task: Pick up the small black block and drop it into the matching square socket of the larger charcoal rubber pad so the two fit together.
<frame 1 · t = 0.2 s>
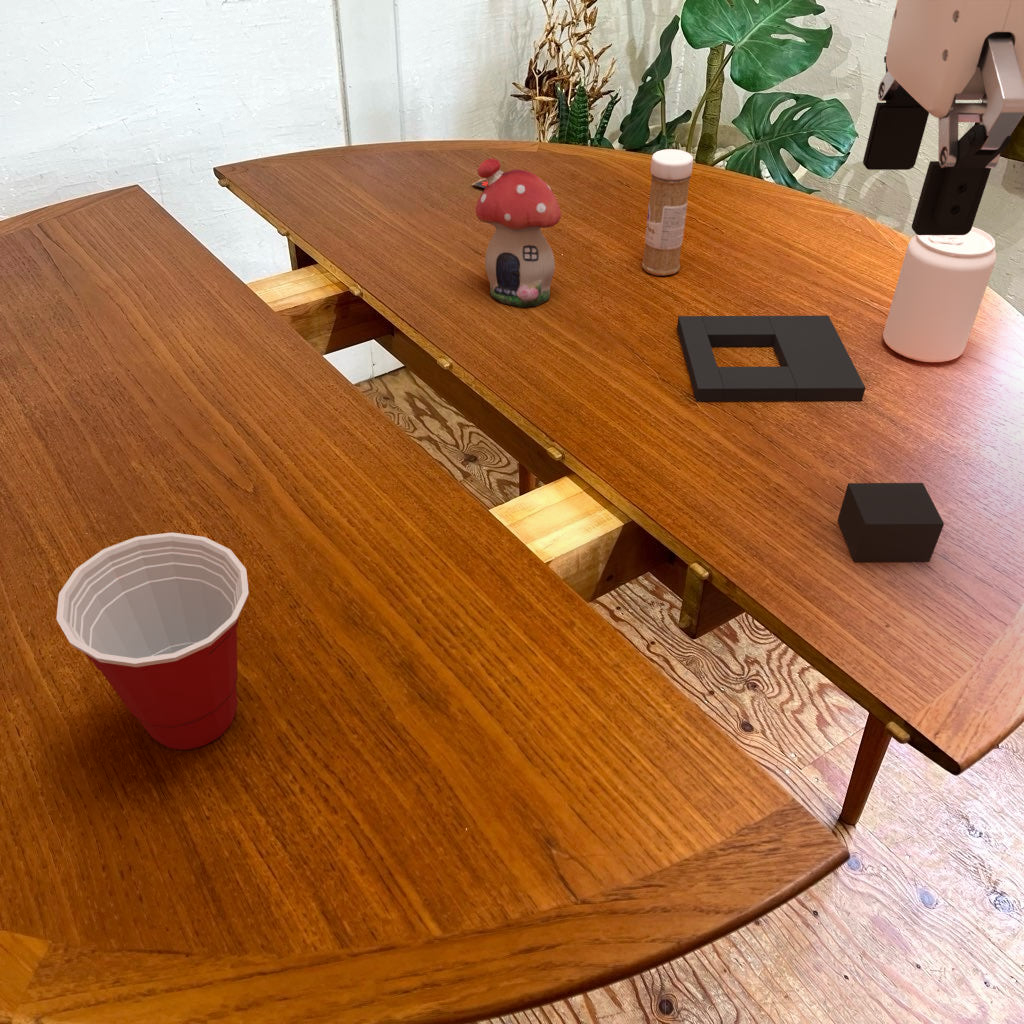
hand: (911, 198, 58), 29 cm above the table, tool pointing down, fingers open, 9 cm apart
base pad: (764, 362, 98), on the table
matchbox: (494, 187, 133), on the table
beverage can: (921, 348, 100), on the table
small black block: (882, 540, 77), on the table
sprinkles bottle: (660, 270, 114), on the table
plastic cup: (197, 716, 64), on the table
decorative ornament: (518, 295, 109), on the table
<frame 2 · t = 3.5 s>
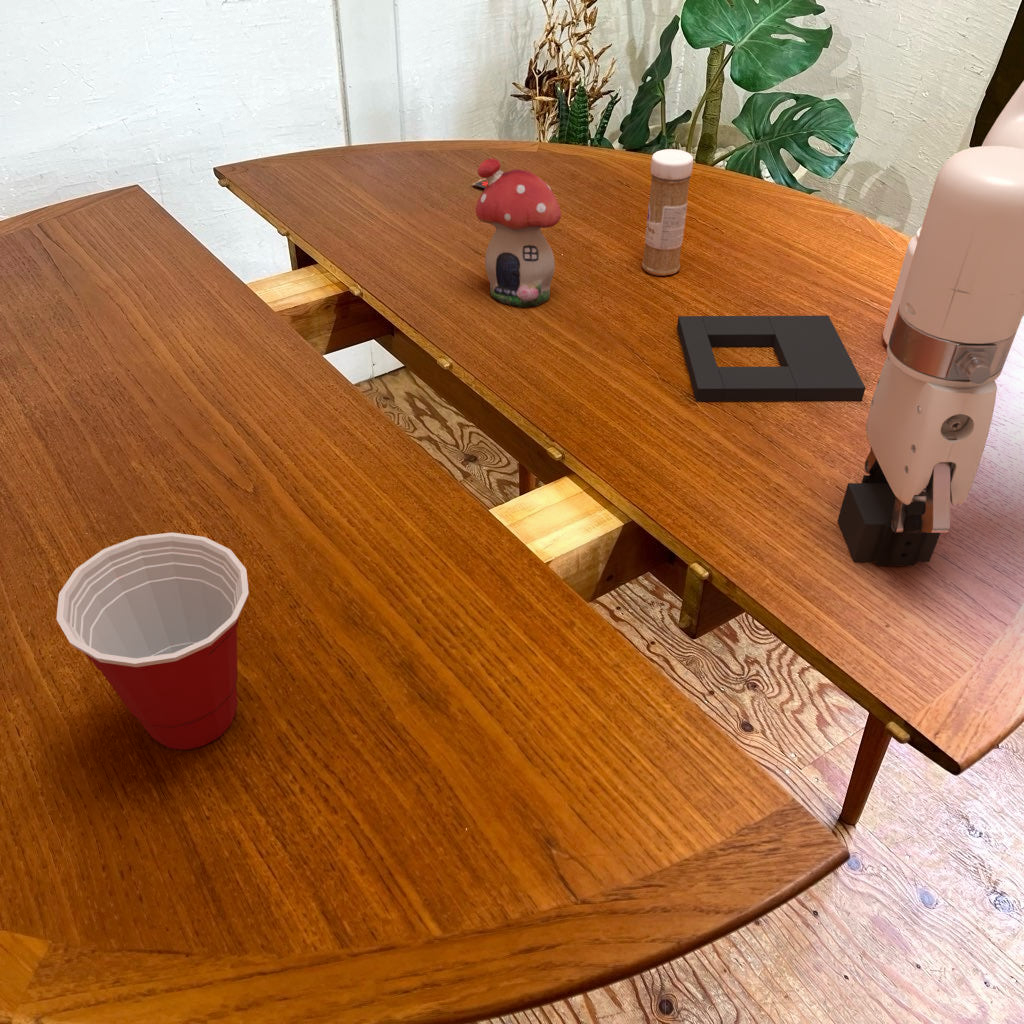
hand: (883, 536, 77), 0 cm above the table, tool pointing down, fingers closed on small black block, 5 cm apart
small black block: (882, 540, 77), on the table, touching gripper
everything else where it was.
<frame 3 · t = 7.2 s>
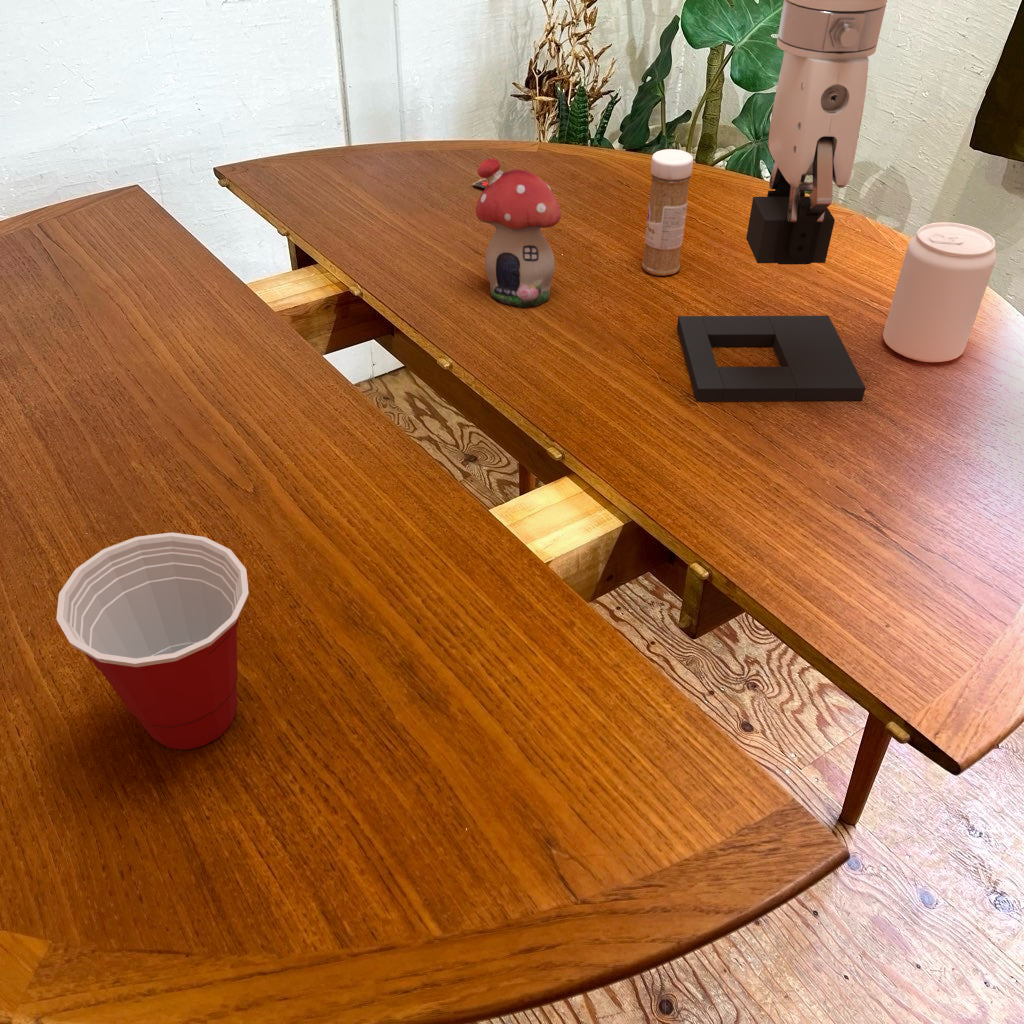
hand: (786, 246, 86), 14 cm above the table, tool pointing down, fingers closed on small black block, 5 cm apart
small black block: (784, 250, 86), point 14 cm above the table, touching gripper
everything else where it was.
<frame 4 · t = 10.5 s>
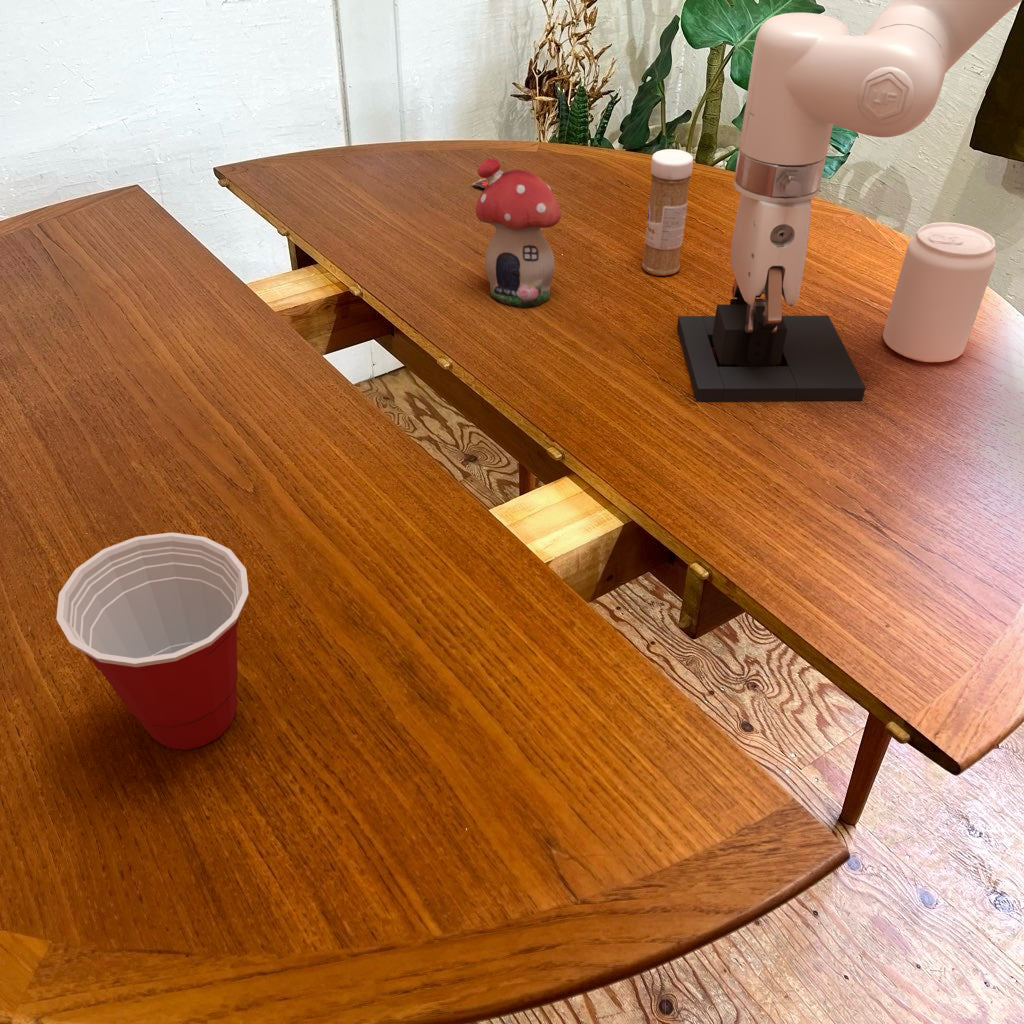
hand: (746, 348, 97), 2 cm above the table, tool pointing down, fingers closed on small black block, 5 cm apart
small black block: (745, 351, 97), point 1 cm above the table, touching gripper
everything else where it was.
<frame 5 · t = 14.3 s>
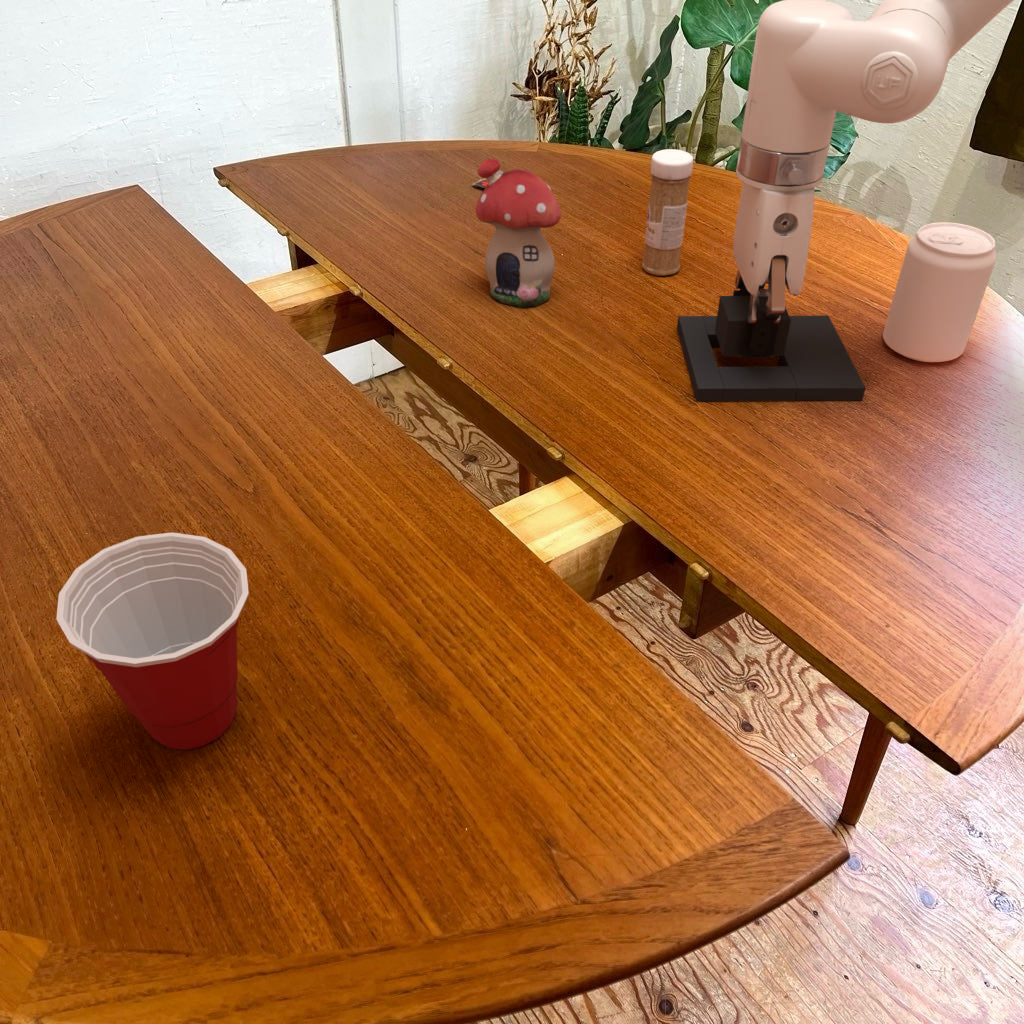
hand: (749, 339, 96), 3 cm above the table, tool pointing down, fingers closed on small black block, 4 cm apart
small black block: (748, 343, 96), point 2 cm above the table, touching gripper
everything else where it was.
when the fingers open (2 cm above the table, at t = 17.4 s): small black block drops 2 cm, resting in base pad.
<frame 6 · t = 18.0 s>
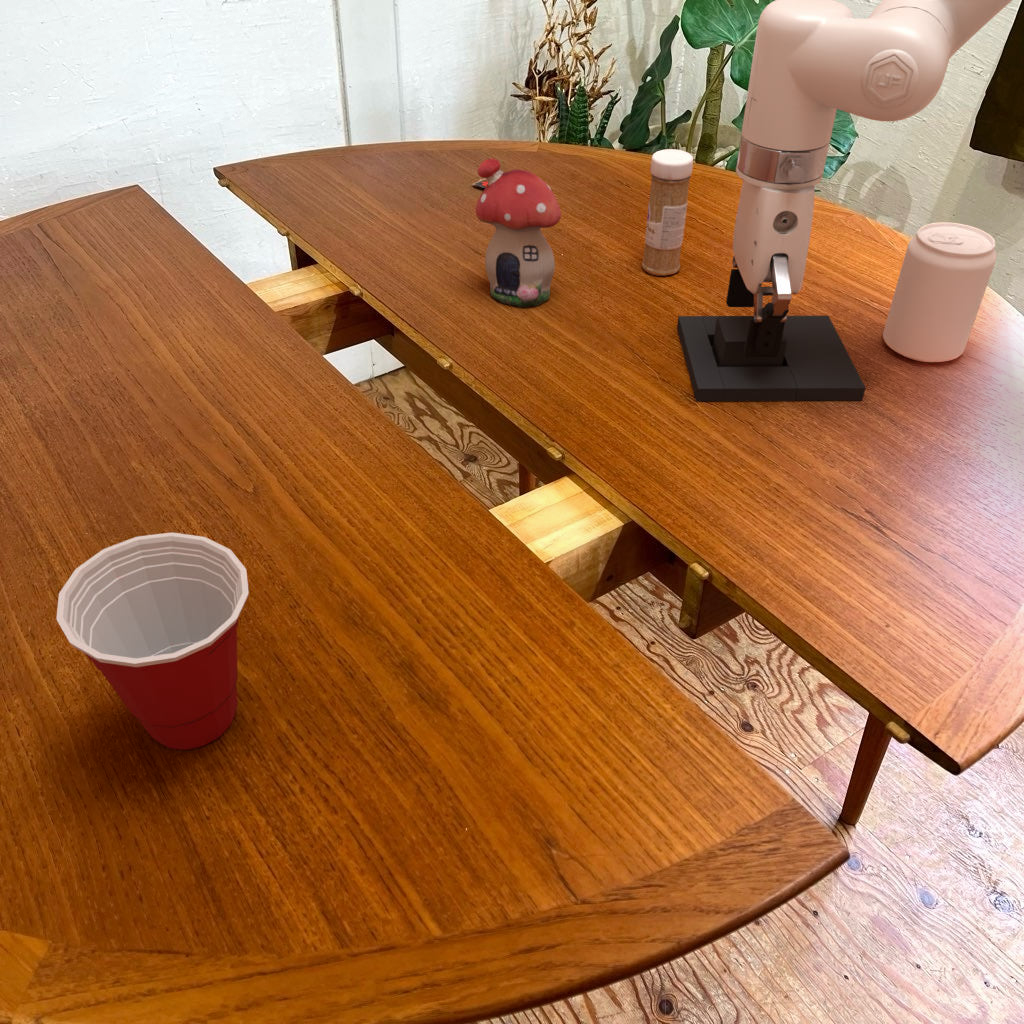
hand: (750, 329, 95), 4 cm above the table, tool pointing down, fingers open, 9 cm apart
small black block: (745, 363, 98), resting in base pad
everything else where it was.
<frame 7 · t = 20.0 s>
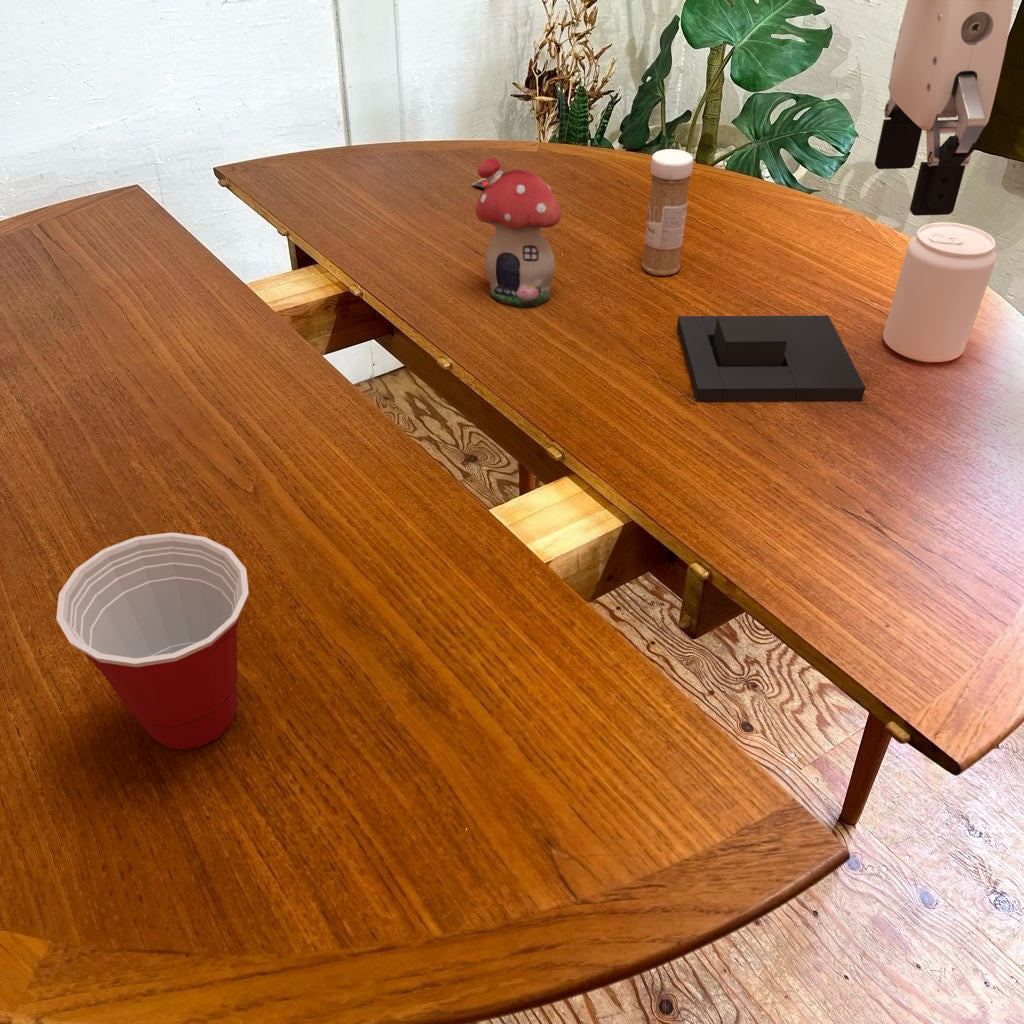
hand: (911, 189, 79), 21 cm above the table, tool pointing down, fingers open, 9 cm apart
nothing on the table moved.
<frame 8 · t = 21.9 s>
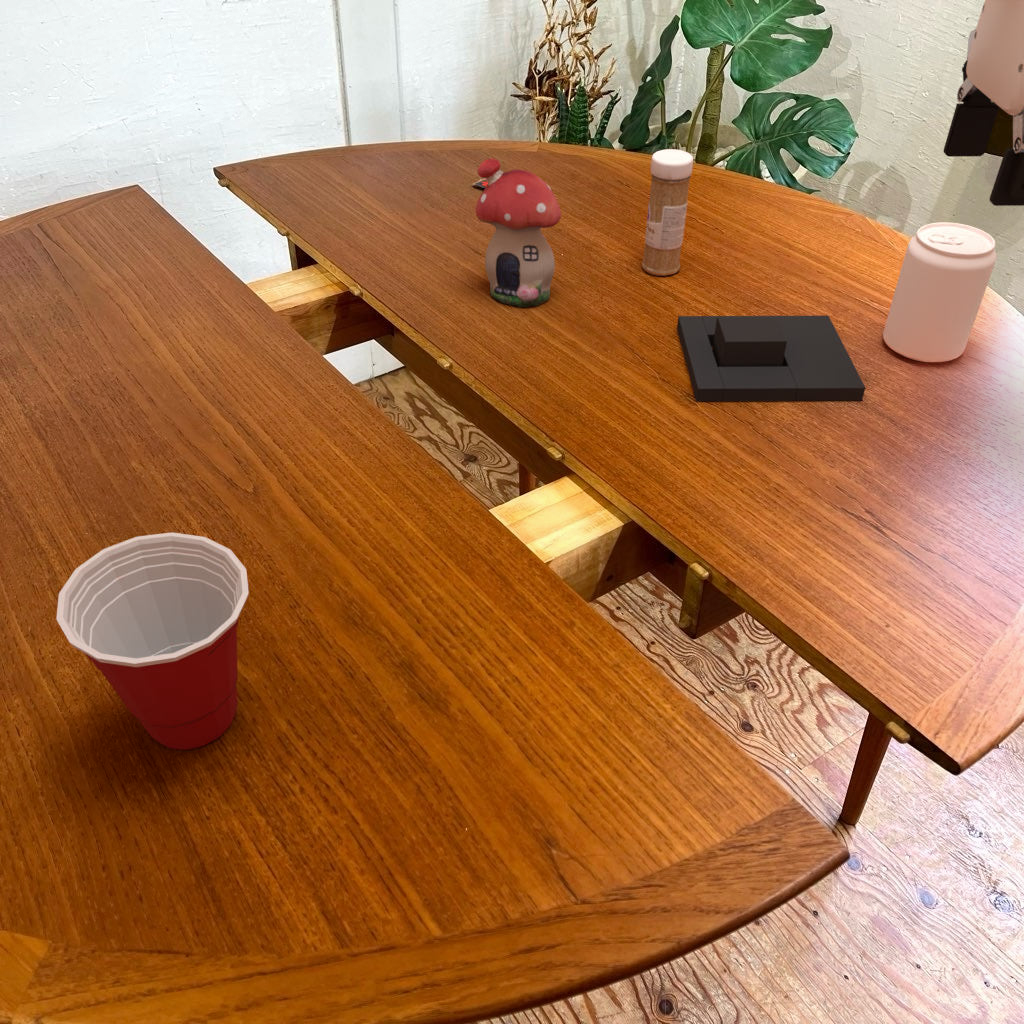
hand: (985, 178, 74), 23 cm above the table, tool pointing down, fingers open, 9 cm apart
nothing on the table moved.
at the end: small black block 0.0 cm from the target spot on the base pad, point 0.0 cm above the base pad's base; small black block tilted 0° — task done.
